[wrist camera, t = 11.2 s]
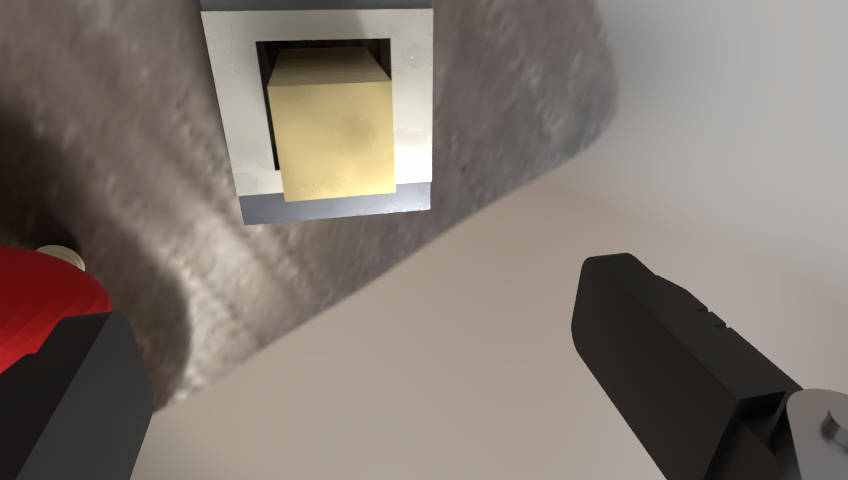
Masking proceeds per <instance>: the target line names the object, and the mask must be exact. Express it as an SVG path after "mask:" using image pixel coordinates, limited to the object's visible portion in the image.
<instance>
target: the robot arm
mask: <svg viewBox="0 0 848 480" xmlns="http://www.w3.org/2000/svg"><path fill="white" fill-rule="evenodd" d="M571 331H572V337H573V342H574V345H575V348H576V350H577V352H578V354H579V355H580V357H581V358H582V360H583V361H584V362H585V364H586V365H587V367H588V368H589V370H590V371H591V372H592V374H593V375H594V377H595V378H596V379H597V381H598V382H599V384H600V385H601V387H602V388H603V390H604V391H605V392H606V394H607V395H608V397H609V398H610V399H611V401H612V402H613V404H614V405H615V407H616V408H617V409H618V411H619V412H620V414H621V415H622V416H623V418H624V419H625V421H626V422H627V424H628V425H629V427H630V428H631V429H632V431H633V432H634V433H635V435H636V436H637V438H638V439H639V441H640V442H641V444H642V445H643V446H644V448H645V449H646V451H647V452H648V454H649V455H650V456H651V458H652V459H653V461H654V462H655V463H656V465H657V466H658V468H659V469H660V471H661V472H662V474H663V475H664V476H665V478H666V479H667V480H848V395H846V394H843V393H839V392H835V391H831V390H825V389H805V390H804V389H803V388H801V386H799V385H798V384H797V383H796V382H795V381H793V380H792V379H791V378H790V377H789V376H788V375H786V374H785V373H784V372H783V371H782V370H780V369H779V368H778V367H777V366H776V365H775V364H773V363H772V362H771V361H770V360H769V359H767V358H766V357H765V356H764V355H763V354H762V353H760V352H759V351H758V350H757V349H755V348H754V347H753V346H752V345H751V344H750V343H749V342H747V341H746V340H745V339H744V338H743V337H741V336H740V335H739V334H738V333H737V332H736V331H734V330H733V329H732V328H731V327H730V328H727V327H726V323H725V322H724V321H723V320H721V319H720V318H719V317H718V316H717V315H716V314H714V313H713V312H708V309H707V307H706V306H705V305H704V304H702V303H701V302H700V301H699V300H698V299H696V298H695V297H694V296H693V295H692V294H691V293H690V292H688V291H687V290H686V289H684V288H682V287H680V286H678V285H676V284H674V283H672V282H670V281H668V280H666V279H664V278H662V277H660V276H658V275H655V274H654V273H653V272H652V271H650V270H649V269H648V268H647V267H646V266H645V265H644V264H642V263H641V262H640V261H639V260H638V259H637V258H636V257H634V256H633V255H632V254H629V253H620V254H611V255H602V256H594V257H589V258H587V259H586V260H585V261H584V263H583V265H582V269H581V274H580V279H579V284H578V290H577V295H576V301H575V306H574V311H573V317H572V323H571ZM152 411H153V387H152V382H151V379H150V376H149V373H148V371H147V368H146V365H145V363H144V360H143V357H142V355H141V352H140V349H139V347H138V344H137V342H136V339H135V336H134V334H133V331H132V328H131V326H130V323H129V321H128V319H127V317H126V315H125V314H124V313H123V312H121V311H109V312H100V313H91V314H83V315H74V316H66V317H63V318H62V319H61V320H59V322H58V323H57V324H56V325H55V327H54V328H53V330H52V331H51V333H50V334H49V335H48V337H47V338H46V340H45V341H44V342H43V344H42V345H41V347H40V348H39V349H38V351H37V352H36V353H30V354H25V355H24V356H23V357H21V358H20V359H19V360H17V361H16V362H15V363H13V364H12V365H11V366H10V367H8V368H7V369H6V370H4V371H3V372H2V373H1V374H0V480H130V477H131V474H132V471H133V468H134V465H135V463H136V460H137V457H138V454H139V451H140V448H141V446H142V443H143V440H144V437H145V434H146V431H147V428H148V426H149V423H150V420H151V416H152Z"/></svg>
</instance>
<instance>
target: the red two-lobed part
mask: <svg viewBox="0 0 848 480" xmlns="http://www.w3.org/2000/svg"><path fill="white" fill-rule="evenodd" d="M109 311H113V307H112V304H111V301H110V298H109V295H108V293H107V292H106V291H105V289H104V288H103V287H102V285H101V284H100V283H99V282H98V281H97V280H96V279H94V278H93V277H92V276H91V275H90V274H88V273H87V272H85V265H84V262H83V260H82V259H81V257H80V256H79V255H78V254H77V253H76V252H74V251H73V250H71V249H69V248H66V247H63V246H58V245H48V246H44V247H41V248H39V249H37V250H36V251H34V250H29V249H23V248H17V247H4V246H0V374H1V373H2V372H3V371H4V370H6V369H7V368H8V367H10V366H11V365H12V364H13V363H15V362H16V361H17V360H19V359H20V358H21V357H23V356H24V355H25V354H30V353H36V352H37V351H38V349H39V348H40V347H41V345H42V344H43V342H44V341H45V340H46V338H47V337H48V335H49V334H50V333H51V331H52V330H53V328H54V327H55V325H56V324H57V323H58V322H59V320H61V319H62V318H63V317H66V316H74V315H83V314H91V313H100V312H109Z"/></svg>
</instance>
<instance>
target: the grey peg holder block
mask: <svg viewBox="0 0 848 480" xmlns="http://www.w3.org/2000/svg"><path fill="white" fill-rule="evenodd" d="M200 4H201V9H202V11H201V16H202V21H203V26H204V31H205V36H206V41H207V46H208V51H209V56H210V61H211V66H212V71H213V76H214V81H215V86H216V91H217V96H218V102H219V107H220V112H221V117H222V122H223V127H224V132H225V137H226V142H227V147H228V152H229V157H230V162H231V167H232V172H233V177H234V182H235V187H236V192H237V196H239V201H240V206H241V211H242V216H243V221H244V225H255V224H266V223H277V222H289V221H300V220H312V219H323V218H335V217H346V216H357V215H369V214H380V213H392V212H403V211H415V210H426V209H430V181H432V86H433V9H432V0H200ZM375 38H379V41H380V66H381V68H382V70H383V71H384V72H385V73H386V75H387V76H388V77H389V78H390V80H391V81H392V103H393V130H394V158H395V185H396V192H395V193H383V194H372V195H360V196H348V197H337V198H325V199H314V200H302V201H291V202H285V198H284V191H283V185H282V178H281V172H280V166H279V159H278V153H277V146H276V140H275V134H274V127H273V121H272V115H271V108H270V102H269V95H268V89H267V86H268V83H269V81H270V76H269V69H268V62H267V55H266V49H265V42H264V41H286V40H330V39H375Z"/></svg>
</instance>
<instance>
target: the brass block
mask: <svg viewBox="0 0 848 480" xmlns="http://www.w3.org/2000/svg"><path fill="white" fill-rule="evenodd" d="M267 89H268V95H269V102H270V108H271V115H272V121H273V127H274V134H275V140H276V146H277V153H278V159H279V166H280V172H281V178H282V185H283V191H284V198H285V202H291V201H302V200H314V199H325V198H337V197H348V196H360V195H372V194H383V193H395V192H396V185H395V158H394V130H393V103H392V81H391V80H390V78H389V77H388V76H387V75H386V73H385V72H384V71H383V70H382V68H381V67H380V66H379V64H378V63H377V62H376V61H375V59H374V58H373V57H372V56H371V54H370V53H369V52H368V50H367V49H366V48H365V47H341V48H311V49H281V51H280V54H279V56H278V59H277V62H276V65H275V67H274V70H273V73H272V75H271V78H270V81H269V83H268V86H267Z"/></svg>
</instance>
